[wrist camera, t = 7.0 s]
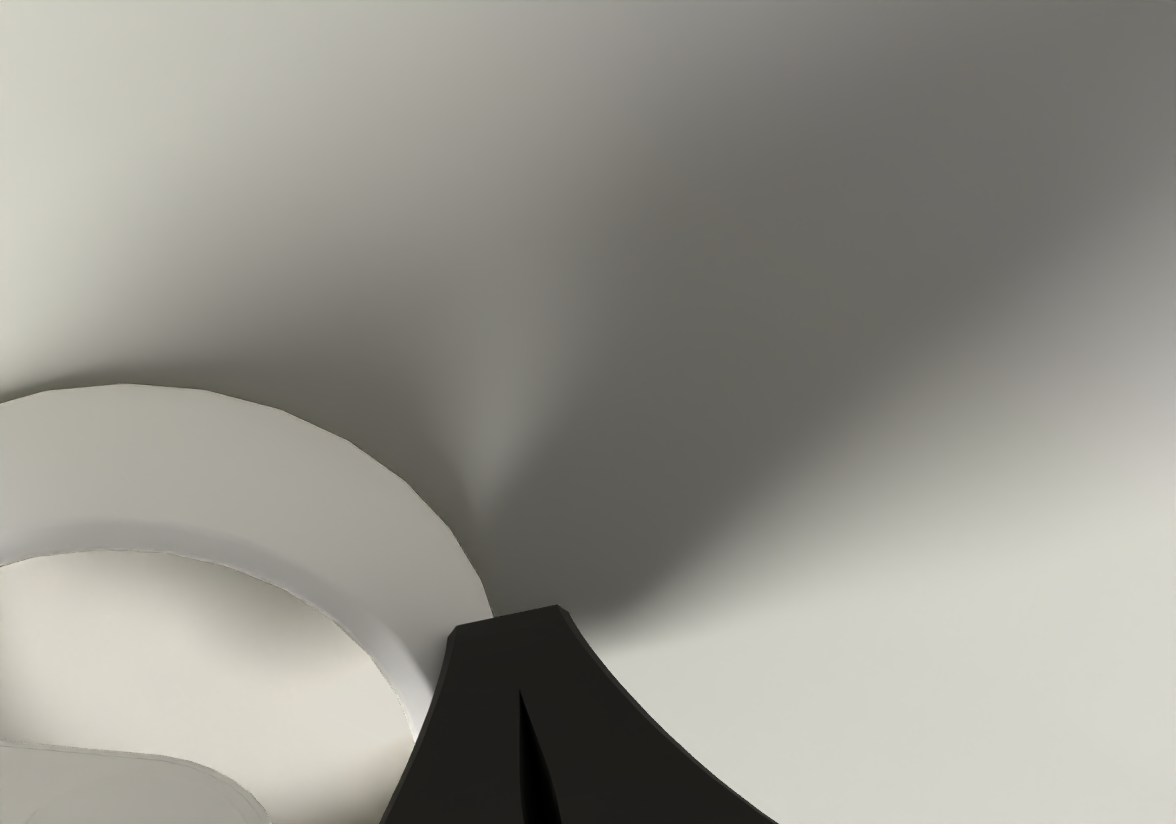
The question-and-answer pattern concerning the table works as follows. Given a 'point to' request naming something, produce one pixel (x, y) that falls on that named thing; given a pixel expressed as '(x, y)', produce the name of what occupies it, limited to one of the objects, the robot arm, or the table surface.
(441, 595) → the hook
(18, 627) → the table surface
